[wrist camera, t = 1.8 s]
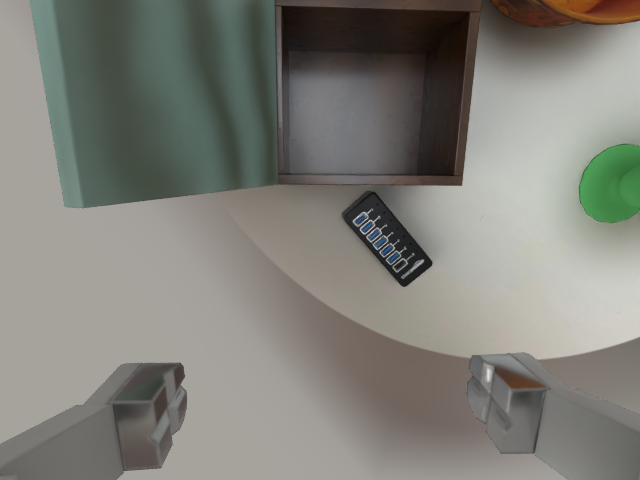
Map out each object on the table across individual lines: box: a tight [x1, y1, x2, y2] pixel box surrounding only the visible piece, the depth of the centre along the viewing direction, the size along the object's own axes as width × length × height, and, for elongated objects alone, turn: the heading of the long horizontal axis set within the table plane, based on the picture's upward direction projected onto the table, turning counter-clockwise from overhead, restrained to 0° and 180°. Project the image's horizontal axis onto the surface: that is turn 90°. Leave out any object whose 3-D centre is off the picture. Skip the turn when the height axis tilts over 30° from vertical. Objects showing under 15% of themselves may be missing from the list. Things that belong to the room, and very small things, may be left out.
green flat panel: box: [30, 0, 278, 208], centre depth 16 cm, size 16×14×1 cm
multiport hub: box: [342, 191, 432, 287], centre depth 36 cm, size 4×11×2 cm, turn 41°
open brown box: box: [275, 0, 482, 186], centre depth 29 cm, size 16×14×10 cm
